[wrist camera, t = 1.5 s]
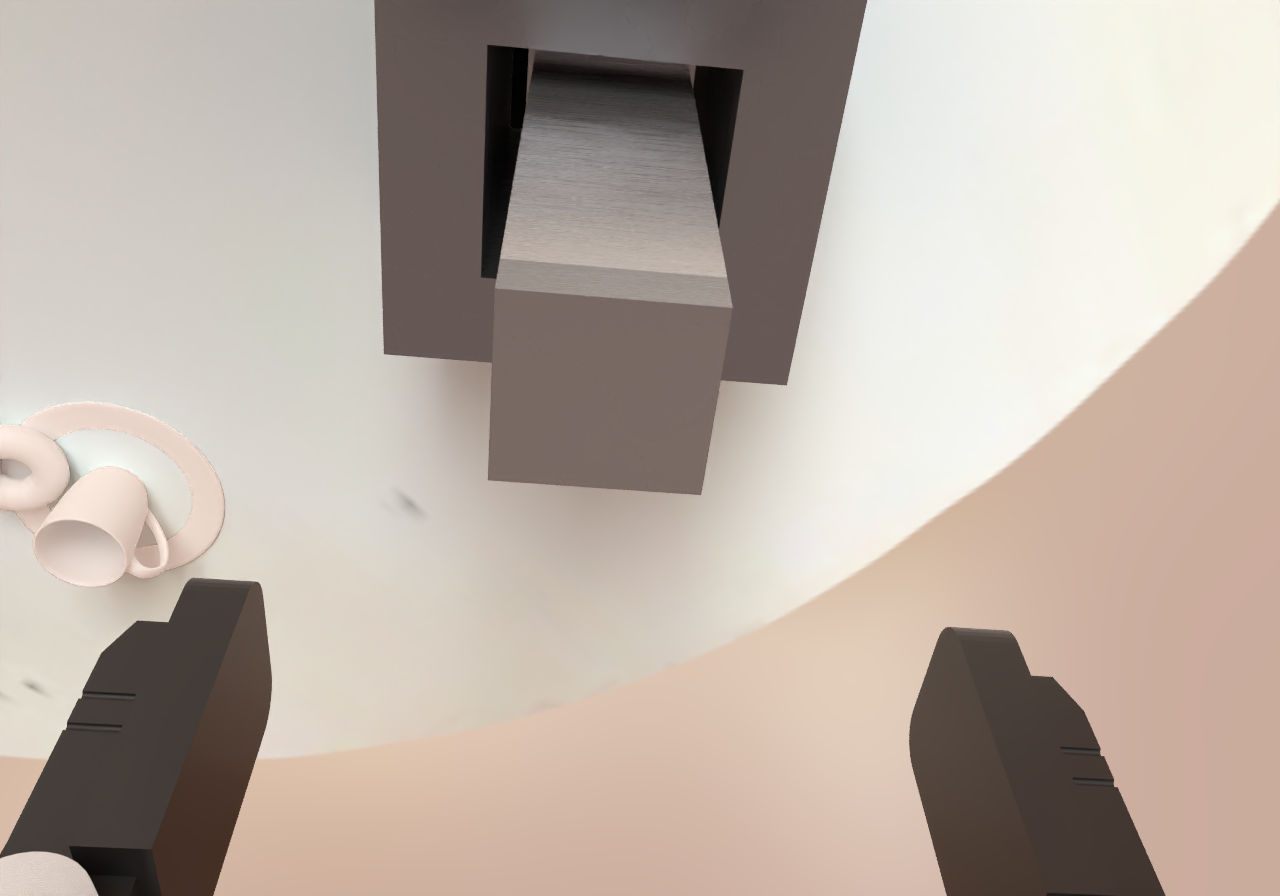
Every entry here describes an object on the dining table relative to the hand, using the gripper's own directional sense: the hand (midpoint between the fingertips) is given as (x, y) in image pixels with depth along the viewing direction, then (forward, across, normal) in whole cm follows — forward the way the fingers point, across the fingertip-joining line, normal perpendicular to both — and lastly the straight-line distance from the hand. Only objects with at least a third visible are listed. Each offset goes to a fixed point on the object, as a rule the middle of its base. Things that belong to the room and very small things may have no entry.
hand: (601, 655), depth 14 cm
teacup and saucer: (+26, +17, +15) cm, 34 cm away
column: (+25, 0, 0) cm, 25 cm away
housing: (+25, 0, 0) cm, 25 cm away
